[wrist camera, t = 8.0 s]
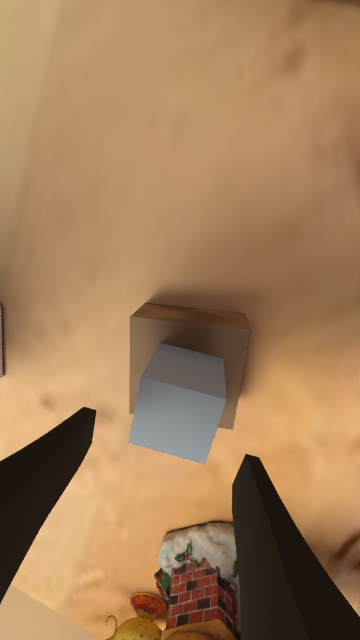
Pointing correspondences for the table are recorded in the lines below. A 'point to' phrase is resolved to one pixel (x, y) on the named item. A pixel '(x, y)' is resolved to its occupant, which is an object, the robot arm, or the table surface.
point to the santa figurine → (200, 583)
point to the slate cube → (179, 403)
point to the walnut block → (191, 344)
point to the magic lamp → (141, 619)
